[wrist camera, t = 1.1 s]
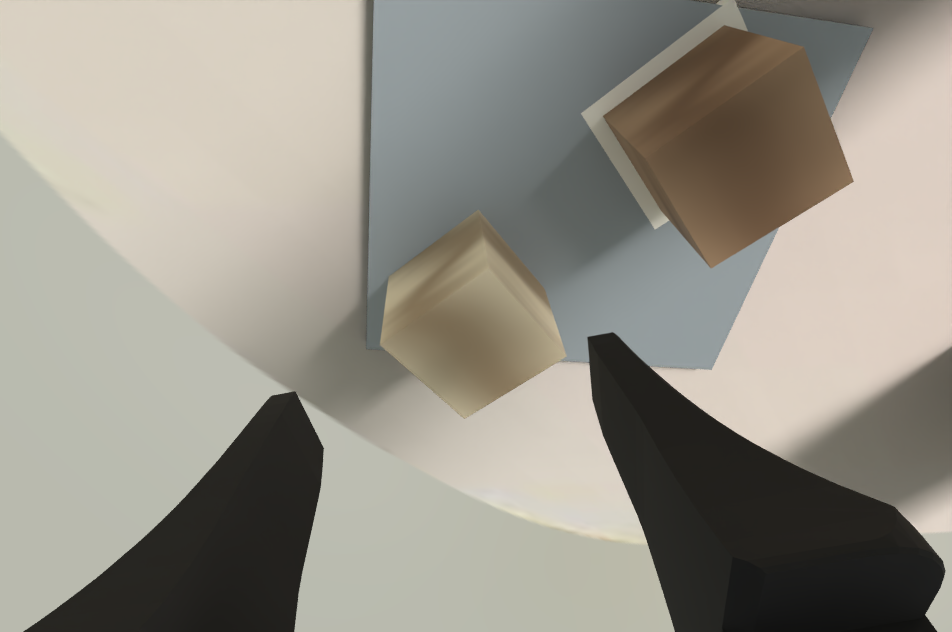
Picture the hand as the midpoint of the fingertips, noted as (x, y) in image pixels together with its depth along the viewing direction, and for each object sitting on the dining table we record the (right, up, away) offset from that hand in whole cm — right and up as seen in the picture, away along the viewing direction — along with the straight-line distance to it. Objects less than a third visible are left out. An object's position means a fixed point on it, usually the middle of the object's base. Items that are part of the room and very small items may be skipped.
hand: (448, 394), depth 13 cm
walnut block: (+8, +9, +6) cm, 13 cm away
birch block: (0, +3, +9) cm, 9 cm away
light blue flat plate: (+5, +6, +8) cm, 11 cm away
